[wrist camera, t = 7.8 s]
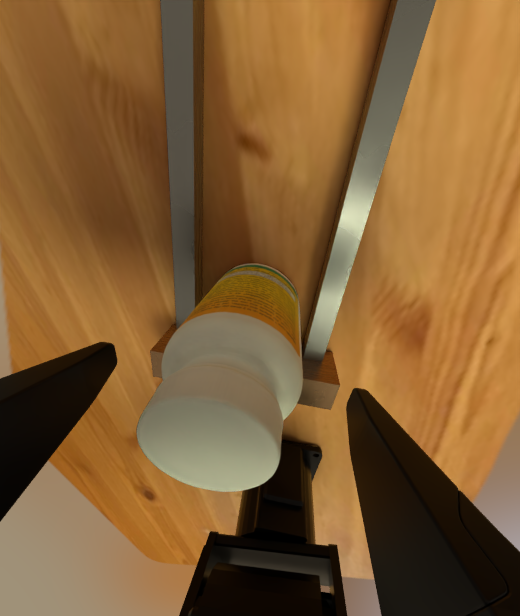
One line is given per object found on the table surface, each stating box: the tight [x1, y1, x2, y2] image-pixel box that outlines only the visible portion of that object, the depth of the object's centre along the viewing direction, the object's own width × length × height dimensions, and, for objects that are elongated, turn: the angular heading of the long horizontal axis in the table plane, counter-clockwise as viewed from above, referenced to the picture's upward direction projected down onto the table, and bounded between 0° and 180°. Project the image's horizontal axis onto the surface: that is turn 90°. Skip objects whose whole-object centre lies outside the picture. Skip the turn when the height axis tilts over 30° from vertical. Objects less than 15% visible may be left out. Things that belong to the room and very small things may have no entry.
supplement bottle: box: [137, 263, 303, 492], centre depth 11 cm, size 5×5×10 cm
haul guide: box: [150, 0, 436, 410], centre depth 11 cm, size 19×11×3 cm, turn 173°
